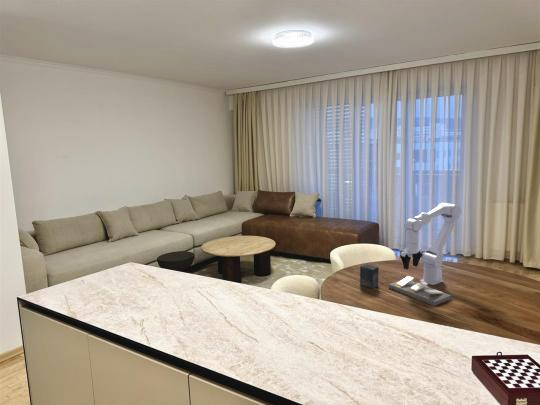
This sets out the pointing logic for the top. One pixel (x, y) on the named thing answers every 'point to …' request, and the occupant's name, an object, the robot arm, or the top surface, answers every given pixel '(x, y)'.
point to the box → (369, 275)
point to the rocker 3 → (433, 291)
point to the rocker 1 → (405, 281)
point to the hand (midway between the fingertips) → (410, 267)
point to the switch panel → (421, 293)
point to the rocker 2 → (418, 286)
